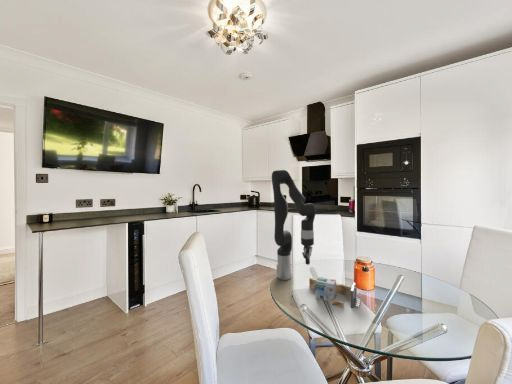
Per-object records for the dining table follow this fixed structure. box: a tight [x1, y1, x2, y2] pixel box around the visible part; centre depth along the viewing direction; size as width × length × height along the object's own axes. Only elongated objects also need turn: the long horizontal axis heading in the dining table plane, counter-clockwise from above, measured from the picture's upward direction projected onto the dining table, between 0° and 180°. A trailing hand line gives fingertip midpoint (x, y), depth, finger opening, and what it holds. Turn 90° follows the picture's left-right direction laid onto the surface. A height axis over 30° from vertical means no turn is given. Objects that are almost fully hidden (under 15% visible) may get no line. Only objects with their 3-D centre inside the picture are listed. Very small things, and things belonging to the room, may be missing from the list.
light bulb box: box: [315, 276, 337, 303], centre depth 146 cm, size 11×7×11 cm, turn 62°
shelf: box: [308, 277, 358, 308], centre depth 146 cm, size 28×14×6 cm, turn 61°
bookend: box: [350, 282, 361, 309], centre depth 138 cm, size 4×10×10 cm, turn 151°
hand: (307, 264), depth 149 cm, fingers closed
